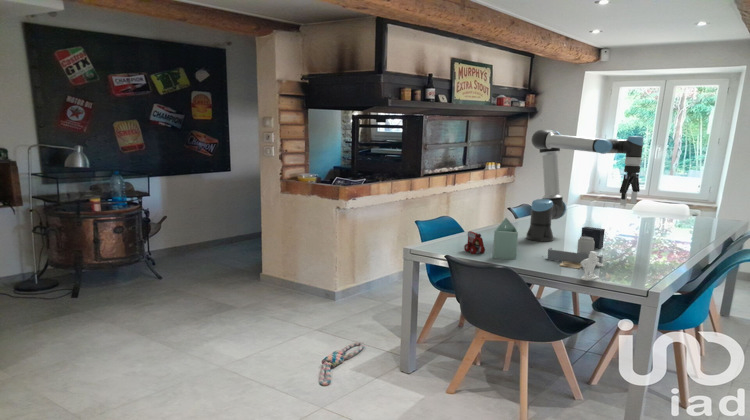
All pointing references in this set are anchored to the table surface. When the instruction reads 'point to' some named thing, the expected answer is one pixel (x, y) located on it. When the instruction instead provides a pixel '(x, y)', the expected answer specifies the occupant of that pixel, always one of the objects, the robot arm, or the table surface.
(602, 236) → the box
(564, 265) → the coaster
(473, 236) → the toy fire truck
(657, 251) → the table surface
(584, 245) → the can
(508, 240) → the planter
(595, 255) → the figurine
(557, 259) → the wall
